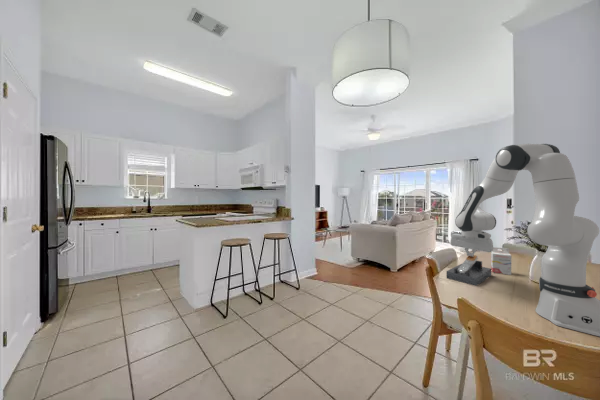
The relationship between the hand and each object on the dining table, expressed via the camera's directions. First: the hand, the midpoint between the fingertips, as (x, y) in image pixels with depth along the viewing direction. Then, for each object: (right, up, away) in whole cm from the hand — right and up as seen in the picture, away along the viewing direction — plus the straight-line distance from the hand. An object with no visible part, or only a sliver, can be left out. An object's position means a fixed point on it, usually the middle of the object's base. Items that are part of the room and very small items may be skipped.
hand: (470, 256), depth 131 cm
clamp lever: (-4, -5, -4) cm, 7 cm away
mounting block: (-3, -11, -3) cm, 12 cm away
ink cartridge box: (+20, -11, +2) cm, 23 cm away
